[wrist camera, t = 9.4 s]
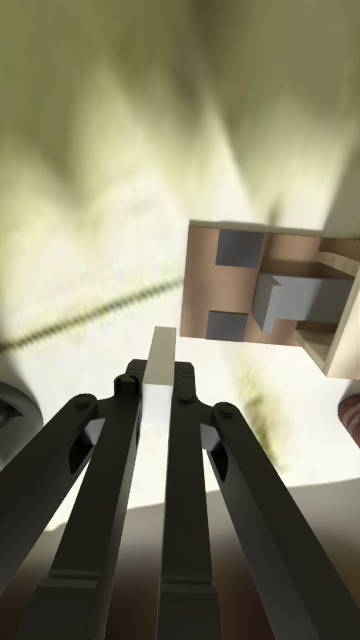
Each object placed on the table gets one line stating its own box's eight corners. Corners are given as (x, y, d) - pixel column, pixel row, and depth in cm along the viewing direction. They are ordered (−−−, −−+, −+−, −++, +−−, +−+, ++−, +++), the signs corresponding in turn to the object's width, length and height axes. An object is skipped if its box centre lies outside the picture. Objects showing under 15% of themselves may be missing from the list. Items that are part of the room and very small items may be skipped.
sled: (251, 313, 32) (265, 337, 26) (259, 272, 30) (276, 288, 24) (417, 327, 32) (468, 354, 26) (437, 287, 30) (498, 306, 24)
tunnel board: (179, 334, 35) (176, 376, 26) (188, 226, 29) (188, 234, 21) (397, 352, 35) (468, 401, 26) (449, 247, 29) (560, 264, 20)
